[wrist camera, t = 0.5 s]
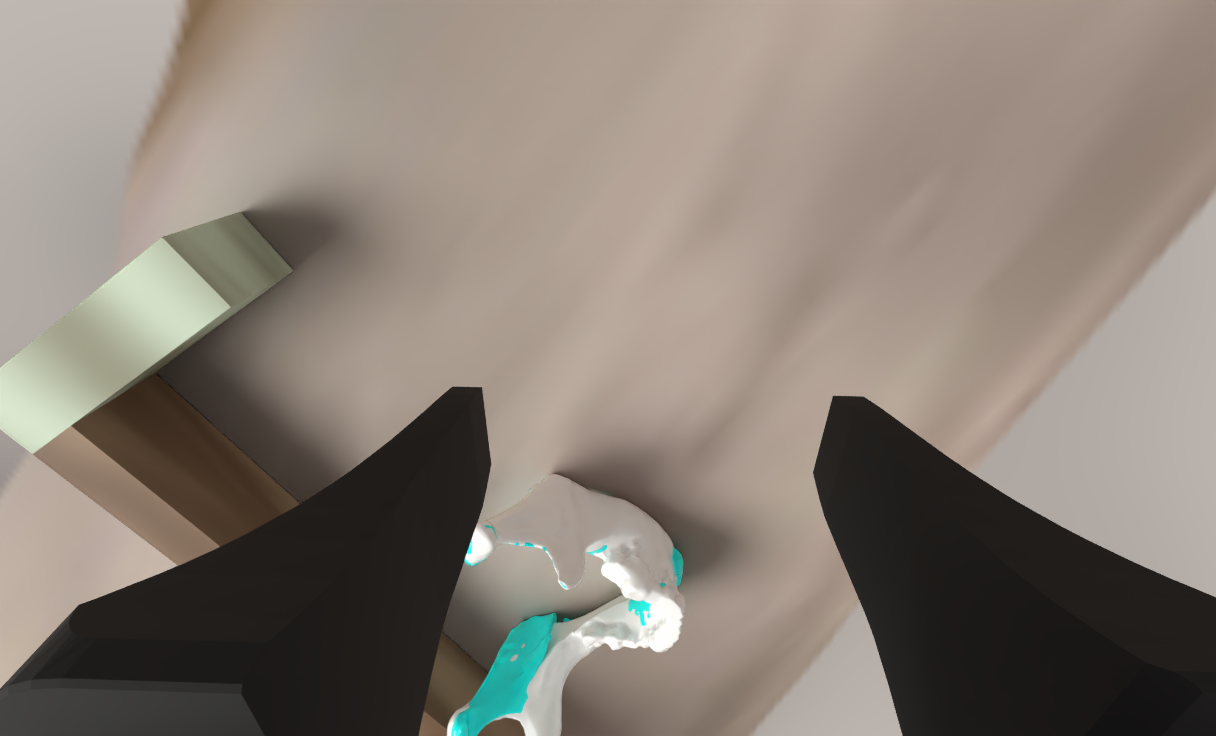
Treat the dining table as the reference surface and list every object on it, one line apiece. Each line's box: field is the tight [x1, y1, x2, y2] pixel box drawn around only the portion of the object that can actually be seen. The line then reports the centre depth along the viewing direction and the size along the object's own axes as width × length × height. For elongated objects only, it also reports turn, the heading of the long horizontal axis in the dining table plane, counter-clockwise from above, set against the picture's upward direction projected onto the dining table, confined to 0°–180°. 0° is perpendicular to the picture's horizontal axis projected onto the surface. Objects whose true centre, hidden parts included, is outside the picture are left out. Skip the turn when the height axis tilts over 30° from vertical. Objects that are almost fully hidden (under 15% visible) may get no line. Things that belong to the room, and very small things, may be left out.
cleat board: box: [0, 212, 525, 736], centre depth 24 cm, size 10×28×4 cm, turn 33°
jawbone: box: [447, 474, 685, 736], centre depth 24 cm, size 12×8×9 cm, turn 172°
